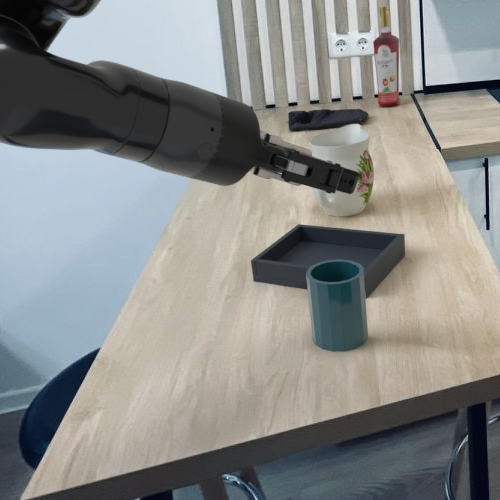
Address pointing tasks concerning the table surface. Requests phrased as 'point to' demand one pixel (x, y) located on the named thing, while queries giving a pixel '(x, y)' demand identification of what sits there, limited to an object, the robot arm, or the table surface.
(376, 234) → the tray
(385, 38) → the liquor
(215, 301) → the table surface
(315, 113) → the folded dark cloth
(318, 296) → the tumbler
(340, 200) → the pitcher
